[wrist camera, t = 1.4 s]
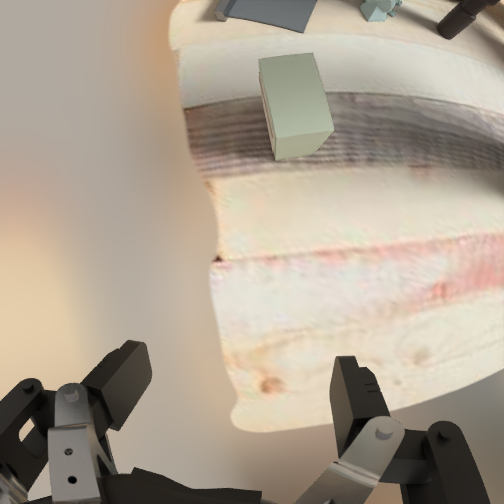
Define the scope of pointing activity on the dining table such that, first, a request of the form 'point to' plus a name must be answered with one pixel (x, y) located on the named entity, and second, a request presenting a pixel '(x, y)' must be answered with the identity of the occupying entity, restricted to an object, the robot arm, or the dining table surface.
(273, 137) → the carton
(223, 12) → the rail
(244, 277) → the dining table surface
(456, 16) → the stool
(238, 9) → the shelf mat
